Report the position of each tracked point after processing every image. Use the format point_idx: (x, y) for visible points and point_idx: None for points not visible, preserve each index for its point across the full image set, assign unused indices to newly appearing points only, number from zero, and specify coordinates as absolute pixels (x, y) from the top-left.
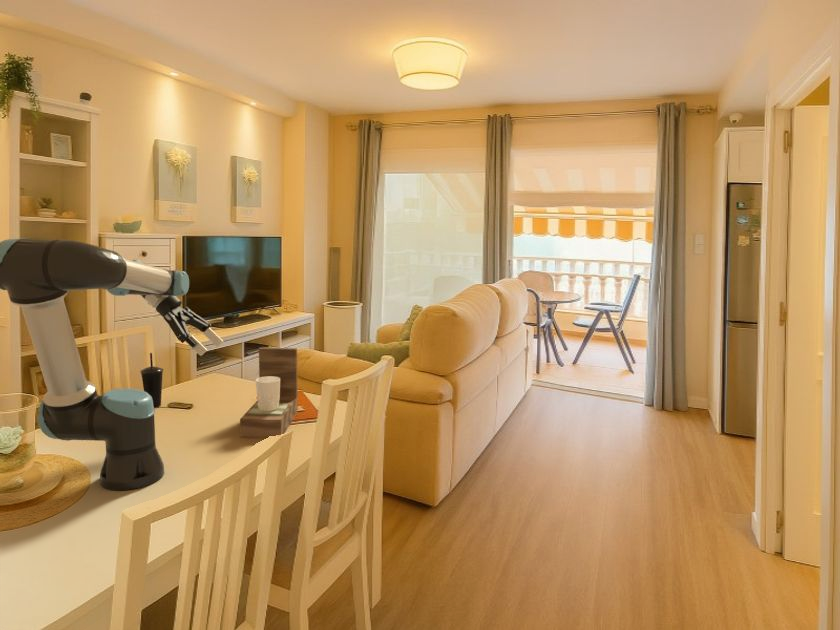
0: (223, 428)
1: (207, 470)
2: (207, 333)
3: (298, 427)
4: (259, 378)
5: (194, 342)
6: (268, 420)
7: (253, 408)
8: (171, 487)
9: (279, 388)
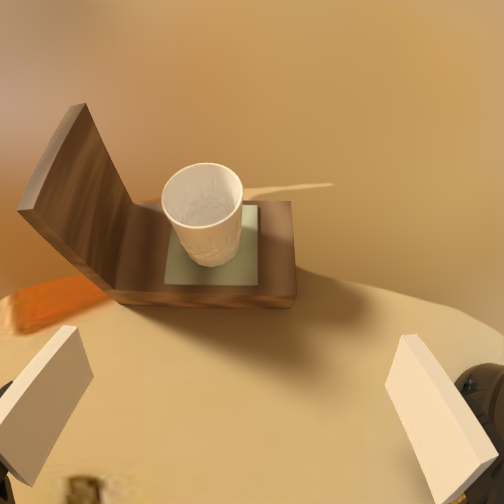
0: (235, 367)
1: (442, 308)
2: (29, 450)
3: None
4: (181, 224)
5: (473, 413)
6: (292, 227)
7: (215, 280)
8: (490, 333)
9: (210, 181)
